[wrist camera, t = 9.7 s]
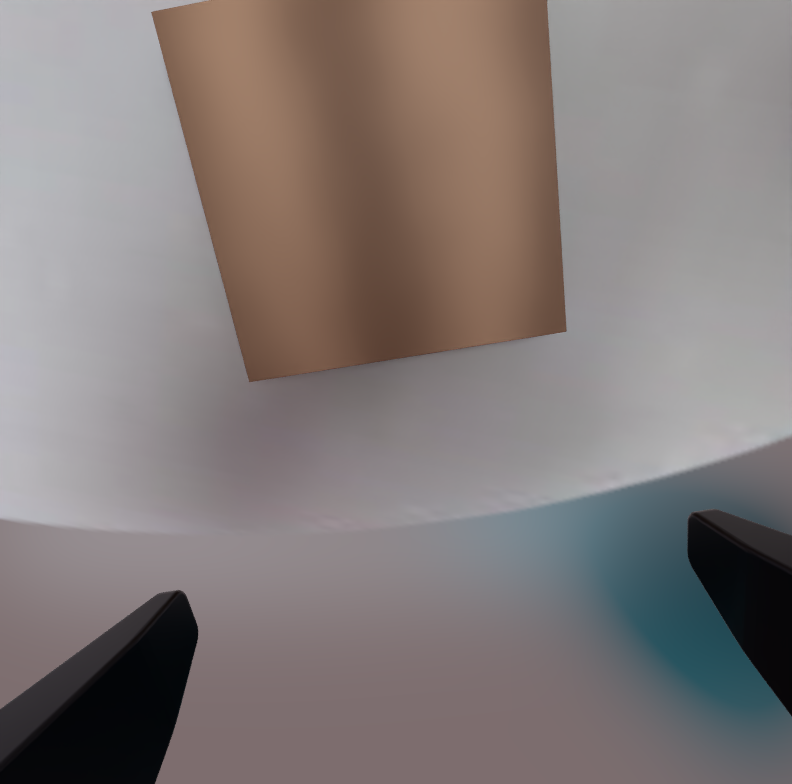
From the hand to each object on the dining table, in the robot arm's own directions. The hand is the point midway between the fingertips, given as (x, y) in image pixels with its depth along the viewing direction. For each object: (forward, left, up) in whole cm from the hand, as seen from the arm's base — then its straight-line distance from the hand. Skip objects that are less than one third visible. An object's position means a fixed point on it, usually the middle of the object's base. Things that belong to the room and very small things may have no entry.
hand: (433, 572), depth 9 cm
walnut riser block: (0, -7, -14) cm, 15 cm away
